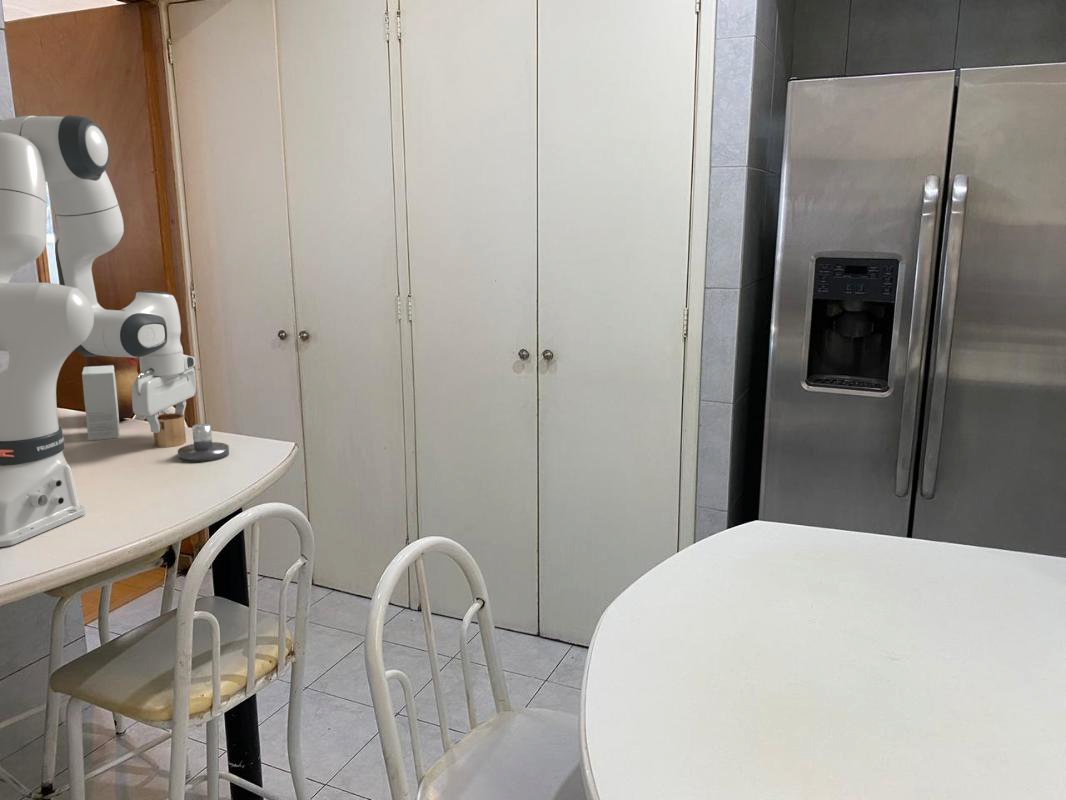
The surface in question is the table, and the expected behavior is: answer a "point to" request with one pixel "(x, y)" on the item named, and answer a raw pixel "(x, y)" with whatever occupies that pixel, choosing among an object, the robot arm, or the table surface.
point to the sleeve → (170, 430)
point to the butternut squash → (119, 379)
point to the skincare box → (101, 402)
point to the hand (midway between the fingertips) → (168, 426)
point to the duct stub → (203, 446)
